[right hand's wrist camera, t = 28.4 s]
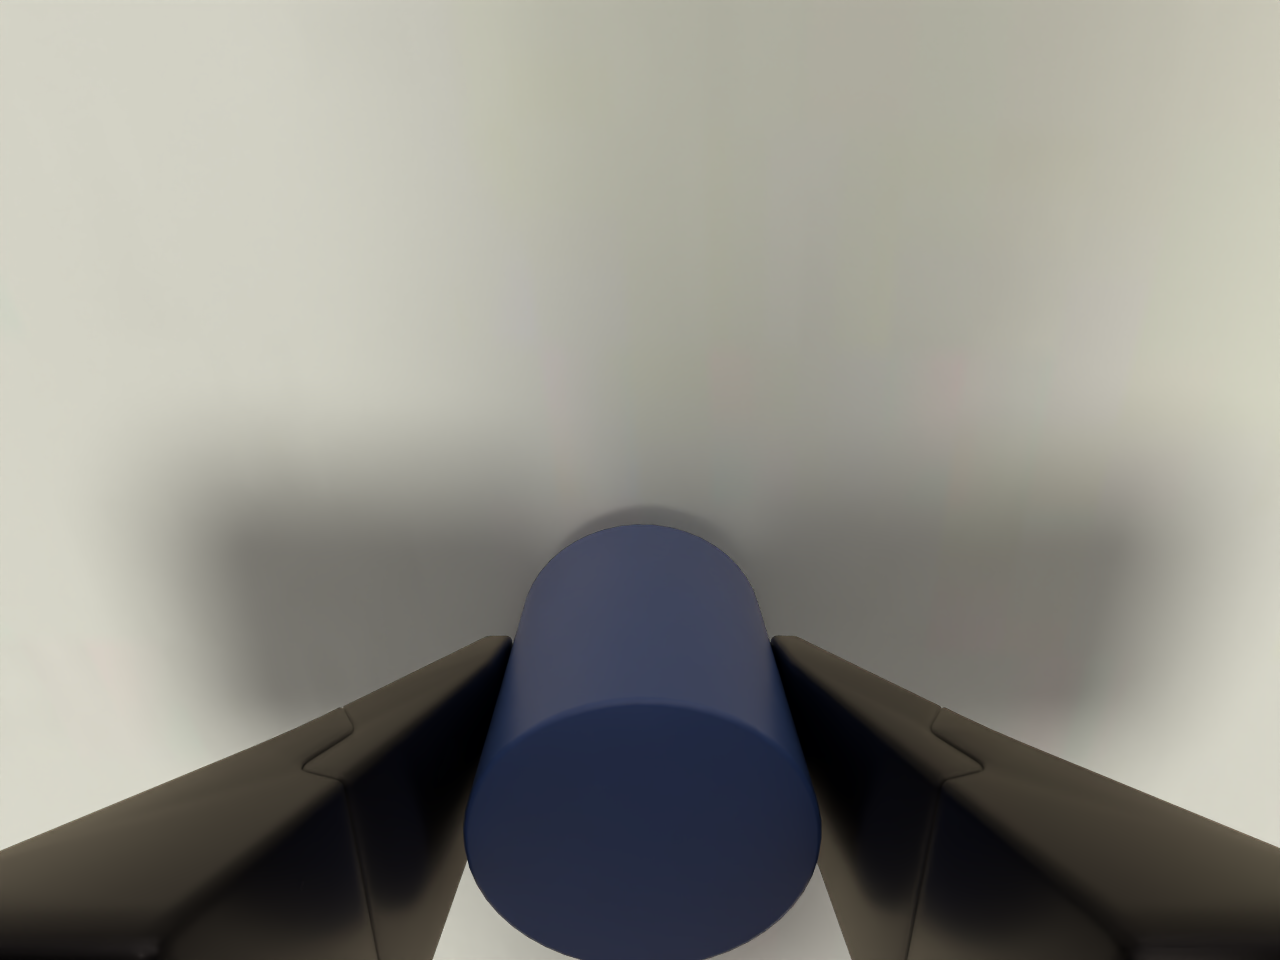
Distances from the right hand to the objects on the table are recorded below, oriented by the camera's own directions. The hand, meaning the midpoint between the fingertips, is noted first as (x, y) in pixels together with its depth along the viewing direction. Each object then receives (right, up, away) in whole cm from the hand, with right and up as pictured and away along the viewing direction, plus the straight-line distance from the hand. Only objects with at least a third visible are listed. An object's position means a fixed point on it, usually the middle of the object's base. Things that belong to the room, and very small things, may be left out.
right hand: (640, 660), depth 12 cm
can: (0, 0, +1) cm, 1 cm away
